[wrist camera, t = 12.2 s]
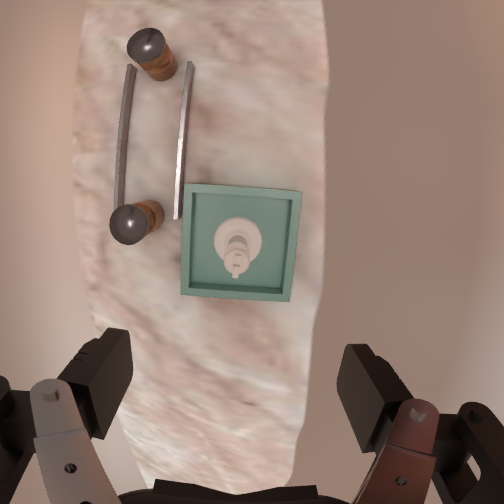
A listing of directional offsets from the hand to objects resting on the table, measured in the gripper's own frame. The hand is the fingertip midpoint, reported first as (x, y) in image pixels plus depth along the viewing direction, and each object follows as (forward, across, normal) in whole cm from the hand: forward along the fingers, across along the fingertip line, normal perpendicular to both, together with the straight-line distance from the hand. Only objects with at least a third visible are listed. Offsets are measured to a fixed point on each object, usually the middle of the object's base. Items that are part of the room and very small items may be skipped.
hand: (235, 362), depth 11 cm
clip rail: (+22, +10, -10) cm, 26 cm away
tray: (+22, 0, 0) cm, 22 cm away
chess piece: (+22, 0, 0) cm, 22 cm away
